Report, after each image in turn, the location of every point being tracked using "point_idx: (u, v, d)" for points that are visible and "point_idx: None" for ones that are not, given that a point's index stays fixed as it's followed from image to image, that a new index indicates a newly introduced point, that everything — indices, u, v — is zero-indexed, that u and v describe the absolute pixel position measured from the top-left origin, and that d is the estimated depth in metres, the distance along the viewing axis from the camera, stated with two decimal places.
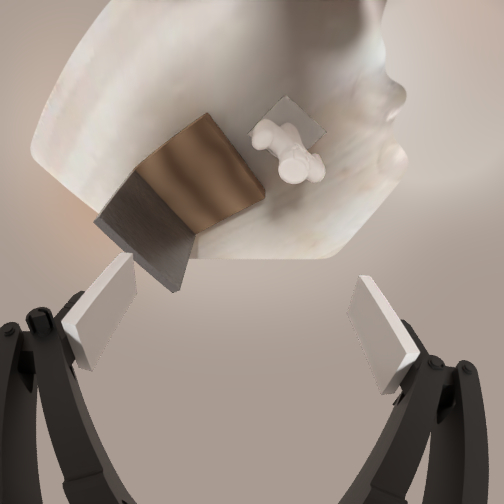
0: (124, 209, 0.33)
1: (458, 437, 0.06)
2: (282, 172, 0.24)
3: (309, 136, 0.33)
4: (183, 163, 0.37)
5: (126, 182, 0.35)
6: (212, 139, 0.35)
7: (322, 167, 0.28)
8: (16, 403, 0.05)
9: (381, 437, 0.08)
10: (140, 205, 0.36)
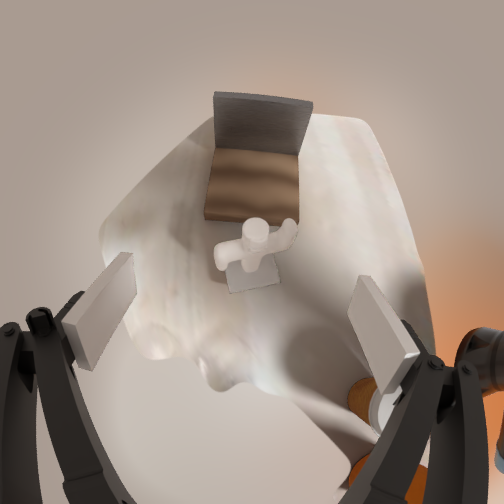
0: (293, 123, 0.40)
1: (458, 437, 0.06)
2: (260, 221, 0.29)
3: (235, 277, 0.38)
4: (276, 184, 0.45)
5: (300, 142, 0.44)
6: (278, 213, 0.43)
7: (224, 260, 0.32)
8: (16, 403, 0.05)
9: (381, 437, 0.08)
10: (280, 134, 0.43)
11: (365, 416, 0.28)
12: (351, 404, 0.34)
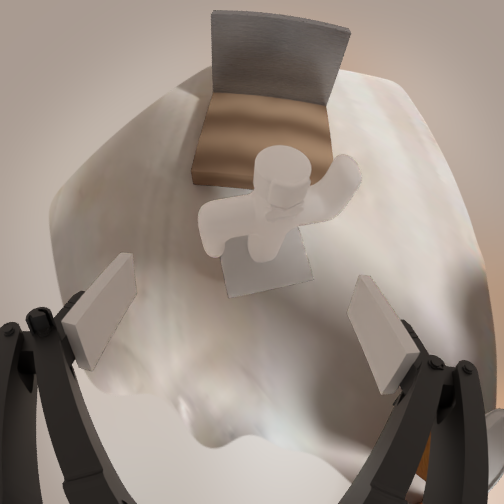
0: (323, 55, 0.25)
1: (458, 437, 0.06)
2: (292, 151, 0.13)
3: (237, 271, 0.23)
4: (299, 136, 0.30)
5: (331, 85, 0.29)
6: None
7: (217, 234, 0.16)
8: (16, 403, 0.05)
9: (381, 437, 0.08)
10: (303, 71, 0.27)
11: None
12: None
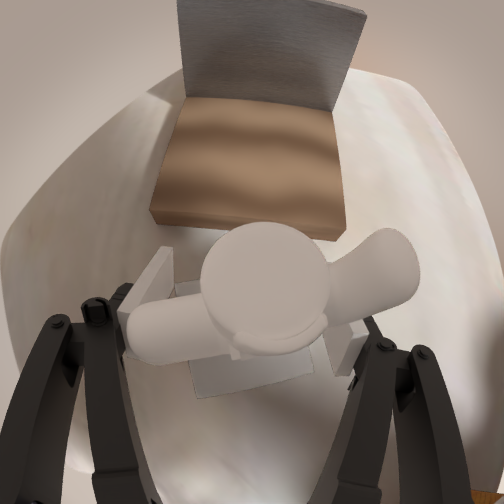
0: (329, 45, 0.18)
1: (424, 426, 0.06)
2: (290, 240, 0.06)
3: (208, 363, 0.15)
4: (297, 155, 0.22)
5: (339, 85, 0.22)
6: (305, 212, 0.21)
7: (157, 363, 0.09)
8: (54, 397, 0.06)
9: (341, 425, 0.08)
10: (303, 67, 0.20)
11: None
12: None
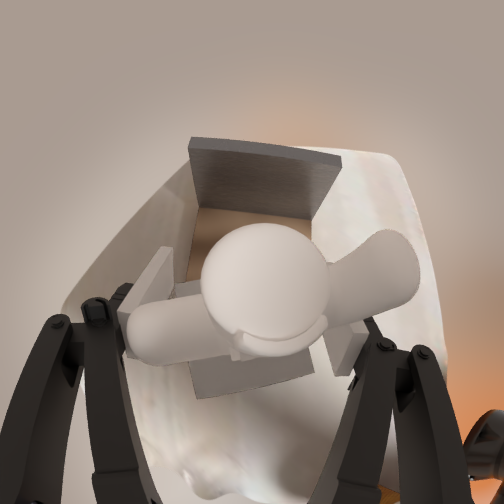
0: (309, 185, 0.29)
1: (424, 426, 0.06)
2: (290, 241, 0.06)
3: (208, 363, 0.15)
4: None
5: (317, 207, 0.33)
6: None
7: (157, 364, 0.09)
8: (54, 398, 0.06)
9: (341, 425, 0.08)
10: (289, 197, 0.32)
11: None
12: None
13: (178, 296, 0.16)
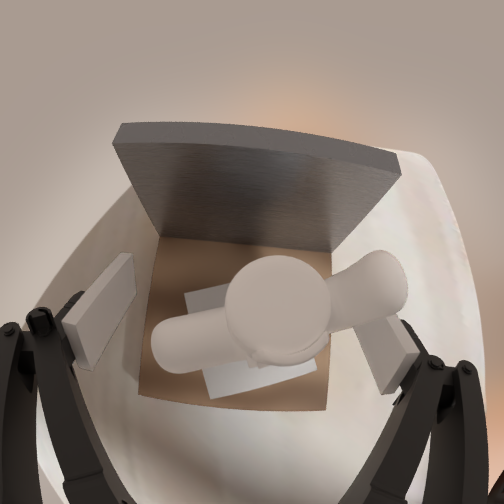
0: (337, 205, 0.16)
1: (458, 437, 0.06)
2: (297, 271, 0.07)
3: (219, 366, 0.16)
4: None
5: (344, 236, 0.20)
6: (287, 399, 0.19)
7: (180, 372, 0.10)
8: (16, 403, 0.05)
9: (381, 437, 0.08)
10: (300, 222, 0.19)
11: None
12: None
13: (188, 304, 0.18)
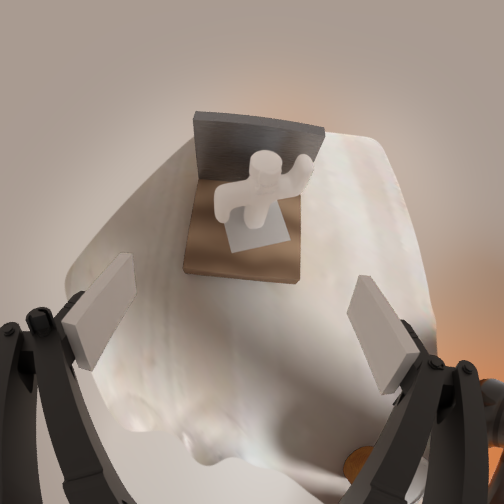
0: (297, 154, 0.32)
1: (458, 437, 0.06)
2: (271, 153, 0.23)
3: (237, 234, 0.33)
4: None
5: None
6: (275, 270, 0.35)
7: (227, 204, 0.26)
8: (16, 403, 0.05)
9: (381, 437, 0.08)
10: None
11: None
12: (347, 475, 0.27)
13: None
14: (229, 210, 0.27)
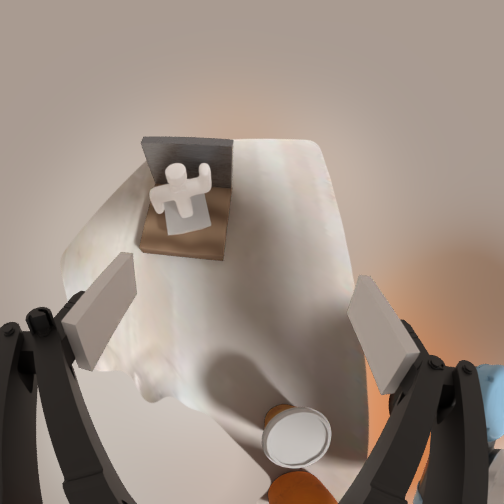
0: (218, 161, 0.44)
1: (458, 437, 0.06)
2: (179, 165, 0.35)
3: (173, 222, 0.44)
4: None
5: (230, 177, 0.48)
6: (204, 248, 0.47)
7: (156, 200, 0.38)
8: (16, 403, 0.05)
9: (381, 437, 0.08)
10: None
11: None
12: None
13: (164, 201, 0.45)
14: (159, 204, 0.39)
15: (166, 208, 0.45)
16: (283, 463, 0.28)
